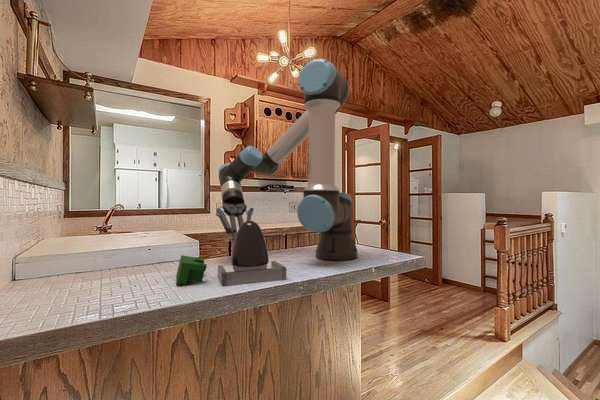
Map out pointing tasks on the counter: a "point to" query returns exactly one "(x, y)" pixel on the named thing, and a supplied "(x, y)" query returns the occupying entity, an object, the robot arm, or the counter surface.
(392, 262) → the counter surface
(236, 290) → the counter surface
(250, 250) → the dark rounded piece
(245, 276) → the bracket
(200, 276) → the green stepped block
